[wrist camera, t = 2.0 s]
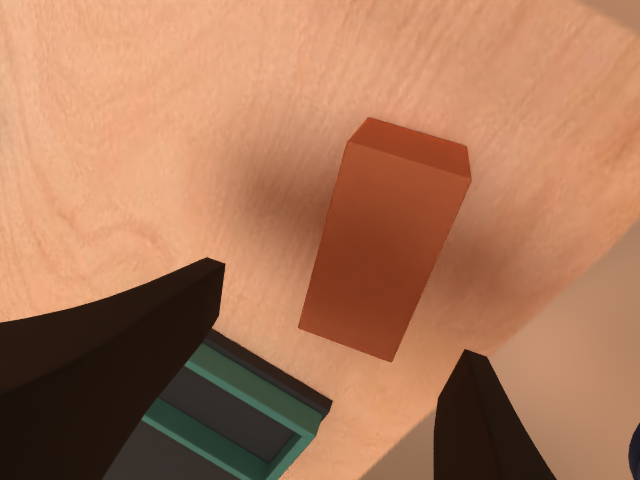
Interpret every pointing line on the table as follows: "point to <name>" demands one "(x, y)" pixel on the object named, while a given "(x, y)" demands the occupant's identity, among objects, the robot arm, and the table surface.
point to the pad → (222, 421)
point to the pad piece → (383, 235)
